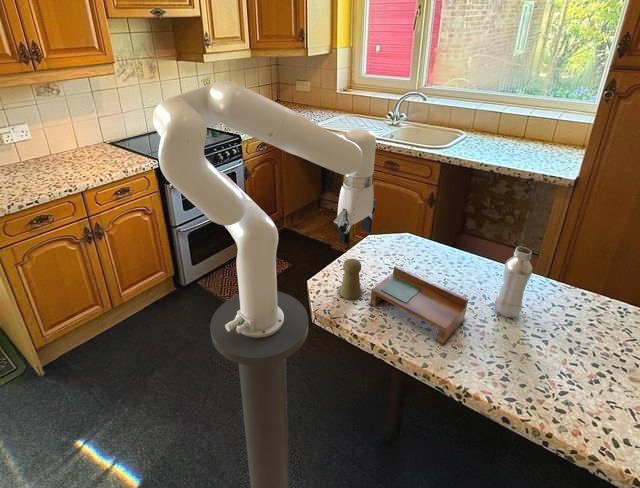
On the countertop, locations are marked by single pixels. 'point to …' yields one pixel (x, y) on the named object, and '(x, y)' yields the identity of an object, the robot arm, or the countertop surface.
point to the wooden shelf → (422, 300)
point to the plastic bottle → (514, 283)
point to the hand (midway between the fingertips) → (355, 237)
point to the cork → (351, 279)
